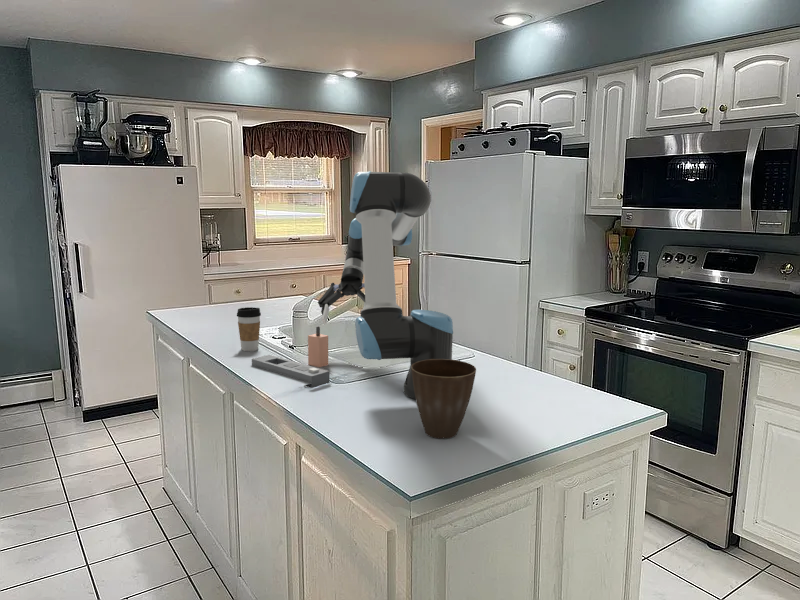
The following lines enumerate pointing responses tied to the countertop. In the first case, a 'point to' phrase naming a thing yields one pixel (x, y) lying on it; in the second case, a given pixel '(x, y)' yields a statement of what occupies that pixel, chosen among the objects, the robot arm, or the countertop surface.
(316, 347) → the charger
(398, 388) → the countertop surface
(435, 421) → the plant pot
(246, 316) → the coffee cup
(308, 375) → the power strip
